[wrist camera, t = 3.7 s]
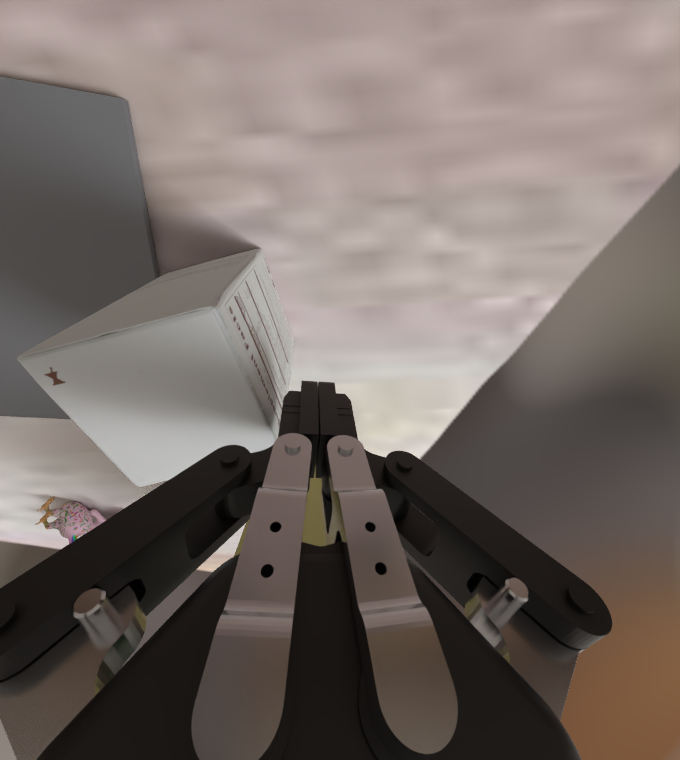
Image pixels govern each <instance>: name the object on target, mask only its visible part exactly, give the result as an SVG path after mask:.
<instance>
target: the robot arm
mask: <svg viewBox="0 0 680 760" xmlns="http://www.w3.org/2000/svg"><path fill="white" fill-rule="evenodd" d="M315 472H316V478H321V479H322V487H321V505H322V514H323V523H324V532H325V544H326V546H316V545H312V544H308V543H304V542H302V538H303V529H304V520H305V510H306V501H307V493H308V491H309V488H310V479H311V478H314V473H315ZM411 503H412V504H413V505H414V506H413V505H412V504H411ZM417 508H418V509H419V510H420V511H421V512H422V513H421V512H420V511H419V510H418V509H417ZM423 514H425V515H426V516H427V517H428V518H429V519H428V518H427V517H426V516H425V515H423ZM248 520H249V523H248V527H247V530H246V534H245V537H244V541H243V544H242V548H241V552H240V554H238V555H236V556H235V557H233V558H231V559H229V560H228V561H226V562H225V563H223V564H222V565H221V566H220V567H218V568H217V569H216V570H215V571H214V572H213V573H212V574H211V575H210V576H209V577H208V578H207V579H206V580H205V581H204V582H203V583H202V584H201V585H200V586H199V587H198V588H197V590H196V591H195V592H194V593H193V594H192V595H191V596H190V597H189V598H188V599H187V600H186V601H185V602H184V603H183V604H182V605H181V606H180V607H179V608H178V609H177V610H176V612H175V613H174V614H173V615H172V616H171V617H170V618H169V619H168V620H167V621H166V622H165V623H164V624H163V625H162V626H161V627H160V628H159V629H158V631H156V632H155V634H154V635H153V636H152V637H151V638H150V639H149V640H148V641H147V642H146V643H145V644H144V645H143V646H142V647H141V648H140V649H139V650H138V651H137V652H136V653H135V655H134V656H133V657H132V658H131V659H130V660H129V661H128V662H127V663H126V664H125V665H124V666H123V664H124V663H125V661H126V660H127V659H128V658H129V657H130V655H131V654H132V653H133V652H134V651H135V649H136V648H137V646H138V645H139V643H140V641H141V639H142V637H143V634H144V631H145V627H146V616H147V615H148V614H149V613H150V612H151V611H152V610H153V609H154V608H155V607H156V606H157V605H159V604H160V603H161V602H162V601H163V600H164V599H165V598H166V597H167V596H168V595H169V594H170V593H171V592H172V591H174V590H175V589H176V588H177V587H178V586H179V585H180V584H181V583H182V582H183V581H184V580H185V579H186V578H187V577H188V576H190V575H191V573H193V572H194V571H195V570H196V569H197V568H198V567H199V566H200V565H201V564H202V563H203V562H204V561H206V560H207V559H208V558H209V557H210V556H211V555H212V554H213V553H214V552H215V551H216V550H217V549H218V548H219V547H220V546H222V545H223V544H224V543H225V542H226V541H227V540H228V539H229V538H230V537H231V536H232V535H233V534H234V533H235V532H236V531H238V530H239V529H240V528H241V527H242V526H243V525H244V524H245V523H246V522H247V521H248ZM432 521H433V522H434V523H435V524H436V525H435V524H434V523H433V522H432ZM403 548H404V549H405V550H406V551H407V552H408V553H409V554H410V555H411V556H412V557H413V558H414V559H415V560H416V561H417V562H418V563H419V564H420V565H421V566H422V567H423V568H424V569H425V570H426V571H427V572H428V573H429V574H430V575H431V576H432V577H433V578H434V579H435V580H436V581H437V582H438V583H439V584H440V585H441V586H442V587H443V588H444V589H445V590H446V591H448V592H449V594H450V595H451V596H452V597H454V599H456V600H457V601H458V602H459V603H460V604H461V605H462V606H463V607H464V608H465V614H466V617H465V616H464V615H463V614H462V613H461V612H460V611H459V610H458V609H457V608H456V607H455V605H454V604H453V603H452V602H451V601H450V600H449V599H448V598H447V597H446V596H445V595H444V594H443V593H442V592H441V591H440V590H439V589H438V588H437V586H436V585H435V584H434V583H433V582H432V581H431V580H430V579H429V578H428V577H427V576H426V575H425V574H424V573H423V572H422V571H421V570H420V569H419V568H418V567H417V566H416V565H415V564H414V563H413V562H412V561H410V560H409V559H407V558H406V557H405V554H404V551H403ZM611 628H612V619H611V615H610V613H609V610H608V608H607V606H606V605H605V603H604V602H603V600H602V599H601V598H600V596H599V595H598V594H597V593H596V592H595V591H594V590H593V589H592V588H591V587H590V586H589V585H588V584H586V583H585V582H584V581H583V580H581V579H580V578H579V577H577V576H576V575H575V574H573V573H572V572H570V571H569V570H568V569H566V568H565V567H564V566H562V565H561V564H560V563H558V562H557V561H556V560H554V559H553V558H552V557H550V556H549V555H548V554H546V553H545V552H544V551H542V550H541V549H539V548H538V547H536V546H535V545H534V544H533V543H531V542H530V541H529V540H527V539H526V538H524V537H523V536H522V535H521V534H519V533H518V532H517V531H515V530H514V529H512V528H511V527H510V526H508V525H507V524H506V523H504V522H503V521H502V520H500V519H499V518H498V517H496V516H495V515H494V514H492V513H491V512H490V511H488V510H487V509H485V508H484V507H483V506H482V505H480V504H479V503H477V502H476V501H475V500H473V499H472V498H471V497H469V496H468V495H467V494H465V493H464V492H462V491H461V490H460V489H459V488H457V487H456V486H455V485H453V484H452V483H450V482H449V481H448V480H446V479H445V478H444V477H442V476H441V475H439V474H438V473H437V472H436V471H434V470H433V469H432V468H430V467H429V466H427V465H426V464H425V463H424V462H422V461H421V460H419V459H418V458H417V457H415V456H414V455H412V454H410V453H408V452H404V451H394V452H391V453H389V454H388V455H387V457H386V458H385V457H381V456H378V455H375V454H372V453H370V452H368V451H366V450H365V449H364V447H363V445H362V443H361V442H360V441H359V440H358V438H357V432H356V427H355V421H354V416H353V410H352V405H351V401H350V399H349V398H348V397H347V396H346V395H345V394H336V391H335V383H331V382H319V383H318V382H314V381H302V385H301V392H300V391H289V392H288V393H287V394H286V395H285V396H284V399H283V407H282V413H281V420H280V427H279V434H278V438H277V439H276V441H275V442H274V444H273V445H272V446H271V447H269V448H267V449H265V450H262V451H258V452H254V453H250V452H249V450H248V449H246V448H245V447H243V446H240V445H226V446H223V447H220V448H218V449H216V450H215V451H213V452H212V453H210V454H209V455H207V456H206V457H204V458H202V459H201V460H199V461H198V462H196V463H195V464H193V465H192V466H190V467H188V468H187V469H185V470H184V471H182V472H181V473H179V474H178V475H176V476H174V477H173V478H171V479H170V480H168V481H167V482H165V483H164V484H162V485H160V486H159V487H157V488H156V489H154V490H153V491H151V492H150V493H148V494H146V495H145V496H143V497H142V498H140V499H139V500H137V501H136V502H134V503H132V504H131V505H129V506H128V507H126V508H125V509H123V510H122V511H120V512H118V513H117V514H115V515H114V516H112V517H111V518H109V519H108V520H106V521H104V522H103V523H101V524H100V525H98V526H97V527H95V528H94V529H92V530H90V531H89V532H87V533H86V534H84V535H83V536H81V537H80V538H78V539H76V540H75V541H73V542H72V543H70V544H69V545H67V546H66V547H64V548H62V549H61V550H59V551H58V552H56V553H55V554H53V555H52V556H50V557H48V558H47V559H45V560H44V561H42V562H41V563H39V564H38V565H36V566H35V567H33V568H31V569H30V570H28V571H27V572H25V573H24V574H22V575H21V576H19V577H17V578H16V579H14V580H13V581H11V582H10V583H8V584H7V585H5V586H3V587H2V588H0V719H1V722H2V724H3V727H4V729H5V732H6V734H7V737H8V739H9V741H10V744H11V746H12V749H13V751H14V754H15V756H16V758H17V760H581V758H580V756H579V753H578V751H577V749H576V747H575V745H574V743H573V742H572V740H571V738H570V736H569V734H568V733H567V731H566V729H565V728H564V726H563V725H562V723H561V721H560V719H561V716H562V712H563V708H564V705H565V701H566V697H567V694H568V689H569V686H570V683H571V678H572V675H573V671H574V668H575V664H576V661H577V657H578V654H579V653H580V652H582V651H583V650H585V649H586V648H588V647H589V646H591V645H592V644H593V643H595V642H597V641H598V640H599V639H601V638H602V637H604V636H605V635H607V634H608V633H609V632H610V631H611ZM122 666H123V667H122ZM121 667H122V668H121ZM120 668H121V669H120Z"/></svg>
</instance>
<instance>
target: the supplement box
mask: <svg viewBox="0 0 680 760" xmlns="http://www.w3.org/2000/svg"><path fill="white" fill-rule="evenodd" d="M293 348H294V338H293V336H292V333H291V330H290V328H289V325H288V322H287V319H286V316H285V314H284V311H283V308H282V305H281V302H280V299H279V296H278V294H277V291H276V288H275V285H274V282H273V279H272V277H271V274H270V271H269V268H268V265H267V262H266V260H265V257H264V254H263V251H262V249H261V248H259V249H254V250H250V251H246V252H241V253H238V254H234V255H230V256H226V257H222V258H219V259H215V260H211V261H207V262H204V263H201V264H197V265H194V266H190V267H186V268H183V269H179V270H176V271H172V272H169V273H165V274H164V275H162V276H160V277H159V278H157V279H155V280H153V281H151V282H149V283H148V284H146V285H144V286H142V287H141V288H139V289H137V290H135V291H133V292H132V293H130V294H128V295H126V296H124V297H123V298H121V299H119V300H117V301H115V302H114V303H112V304H110V305H108V306H106V307H105V308H103V309H101V310H99V311H97V312H96V313H94V314H92V315H90V316H88V317H87V318H85V319H83V320H81V321H79V322H78V323H76V324H74V325H72V326H70V327H69V328H67V329H65V330H63V331H61V332H60V333H58V334H56V335H54V336H52V337H51V338H49V339H47V340H45V341H43V342H42V343H40V344H38V345H36V346H35V347H33V348H31V349H29V350H27V351H26V352H24V353H22V354H20V355H19V356H18V357H17V360H18V361H19V362H20V363H21V364H22V366H23V367H24V368H25V369H26V370H27V371H28V373H29V374H30V375H31V376H32V377H33V378H34V380H35V381H36V382H37V383H38V384H39V385H40V386H41V387H42V389H43V390H44V391H45V392H46V393H47V394H48V395H49V396H50V397H51V398H52V399H53V400H54V401H55V402H56V403H57V405H58V406H59V407H60V408H61V409H62V410H63V411H64V412H65V413H66V414H67V415H68V416H69V417H70V418H71V419H72V420H73V421H74V422H75V423H76V424H77V425H78V427H79V428H80V429H81V430H82V431H83V432H84V433H85V434H86V435H87V436H88V437H89V438H90V439H91V440H92V441H93V442H94V443H95V444H96V445H97V446H98V447H99V448H100V449H101V451H102V452H103V453H104V454H105V455H106V456H107V457H108V458H109V459H110V460H111V461H112V462H113V463H114V464H115V465H116V466H117V467H118V468H119V469H120V470H121V471H122V473H123V474H124V475H125V476H126V477H127V478H128V479H129V480H130V481H131V482H133V483H134V484H135V485H136V486H137V487H143V486H147V485H151V484H155V483H159V482H163V481H168V480H170V479H171V478H173V477H174V476H176V475H178V474H179V473H181V472H182V471H184V470H185V469H187V468H188V467H190V466H192V465H193V464H195V463H196V462H198V461H199V460H201V459H202V458H204V457H206V456H207V455H209V454H210V453H212V452H213V451H215V450H216V449H218V448H220V447H223V446H226V445H240V446H243V447H245V448H246V449H248V450H249V452H250V453H254V452H258V451H262V450H265V449H267V448H269V447H271V446H272V445H273V444H274V442H275V441H276V439H277V438H278V434H279V427H280V420H281V413H282V407H283V399H284V396H285V395H286V394H287V393H288V389H289V381H290V373H291V365H292V356H293Z"/></svg>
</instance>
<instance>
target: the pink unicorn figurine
mask: <svg viewBox="0 0 680 760" xmlns="http://www.w3.org/2000/svg"><path fill="white" fill-rule="evenodd" d="M54 498H55V497H53V499H52V497H51V499H52V500H51V499H49V500H48V501H47V502H46V503H45V504H44V505H43V506H42V508H41V509H40V510H38V511H41V510H42V509H45V511H46V512H47V513H46V514H45V515H44V516H43V517H42V518H41V519H40V522H39V523H41V522H43V524H44V525H45V528H46V529H51V528H55V529H58V530H59V531H60V534H61V535H62V536H63V537H65V538H68V539H69V544H70V543H72V542H73V541H75V540H76V539H77V537H78V536H81V535H83V534H86V533H87V532H89V531H90V530H92V529H94V528H95V527H97V526H98V525H100V524H101V523H103V522H104V521H106V518H104V517H103V516H102V515H101V514H100V513H99V512H98V511H97V510H96V509H92V510H91V511H89V510H88V509H87V508H86V507H85V506H84V505H83V504H81V503H79V502H69V503H67V504H65V505H63V506H61V507H60V508H58V509H55V510H50V509H49V505H50V504H51V502H52V501H53V500H54ZM49 516H56V517H58V519H56V520H55V521H53V522H51V523H48V522H47V518H48V517H49ZM39 523H37V524H39ZM37 524H35V525H37Z"/></svg>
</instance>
